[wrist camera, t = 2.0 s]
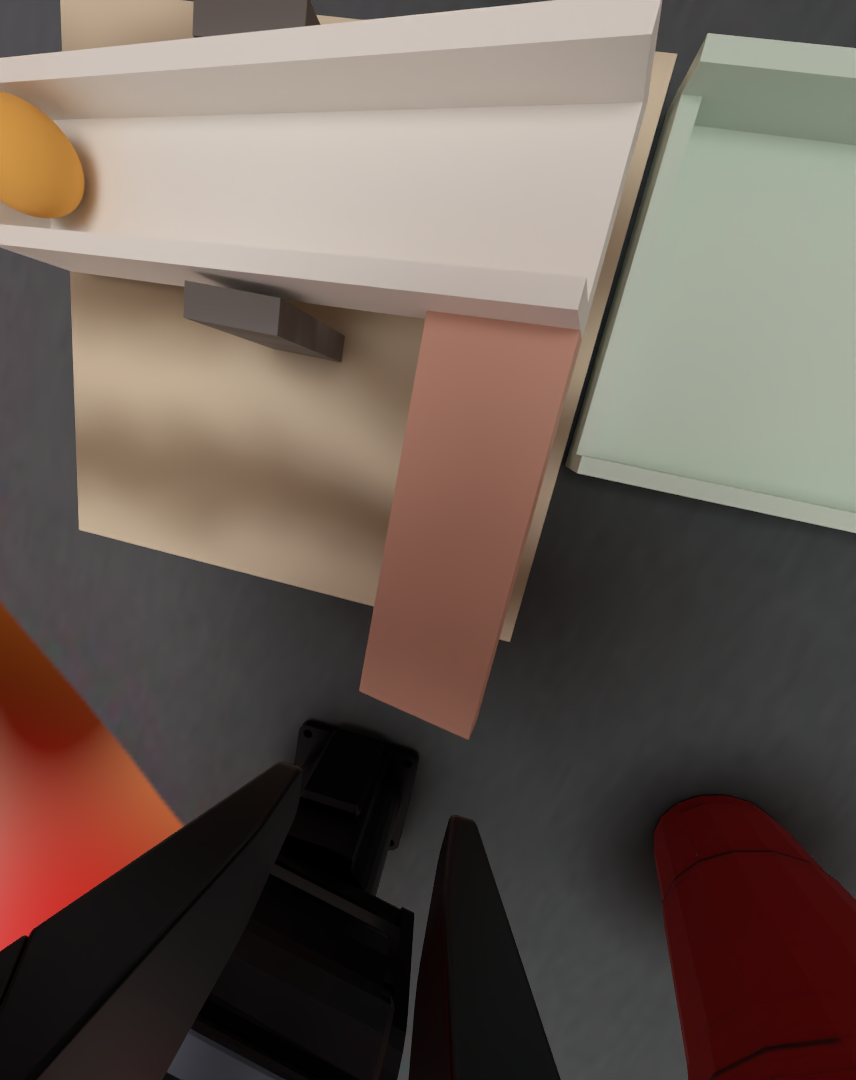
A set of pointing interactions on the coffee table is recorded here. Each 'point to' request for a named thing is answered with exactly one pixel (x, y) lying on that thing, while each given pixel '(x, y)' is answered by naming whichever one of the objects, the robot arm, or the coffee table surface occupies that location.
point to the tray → (739, 294)
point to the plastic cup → (755, 946)
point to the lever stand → (262, 382)
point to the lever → (383, 248)
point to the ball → (36, 162)
